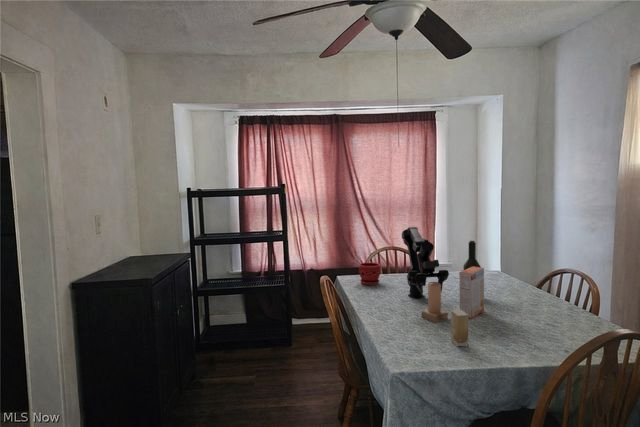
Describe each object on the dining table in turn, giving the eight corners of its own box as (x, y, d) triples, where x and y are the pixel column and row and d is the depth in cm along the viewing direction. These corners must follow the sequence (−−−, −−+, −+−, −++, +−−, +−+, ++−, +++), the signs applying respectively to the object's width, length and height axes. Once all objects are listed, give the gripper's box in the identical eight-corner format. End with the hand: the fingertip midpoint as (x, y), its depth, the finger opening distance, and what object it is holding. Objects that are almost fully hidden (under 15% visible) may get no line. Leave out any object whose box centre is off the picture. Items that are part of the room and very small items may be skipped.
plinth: (433, 313, 177) (433, 307, 176) (447, 318, 170) (447, 312, 169) (421, 317, 172) (421, 310, 172) (435, 322, 166) (435, 315, 165)
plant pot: (382, 285, 226) (382, 266, 225) (360, 286, 227) (359, 266, 226) (379, 280, 239) (378, 261, 238) (358, 280, 240) (358, 262, 239)
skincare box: (450, 340, 147) (450, 309, 146) (461, 339, 147) (461, 309, 146) (457, 347, 140) (457, 315, 140) (468, 346, 141) (469, 314, 140)
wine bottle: (480, 295, 202) (481, 240, 199) (480, 300, 194) (480, 242, 192) (464, 294, 205) (464, 239, 203) (462, 298, 198) (462, 241, 195)
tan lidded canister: (430, 308, 175) (430, 281, 174) (442, 310, 171) (442, 282, 170) (426, 312, 170) (426, 283, 169) (438, 314, 167) (438, 285, 166)
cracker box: (472, 308, 182) (472, 265, 180) (484, 311, 178) (485, 267, 176) (458, 316, 172) (458, 271, 171) (471, 319, 168) (472, 273, 166)
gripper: (408, 254, 179) (414, 283, 169) (447, 253, 179) (455, 282, 169) (404, 266, 188) (409, 295, 178) (442, 265, 187) (449, 294, 177)
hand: (431, 291), depth 175 cm, fingers open, 9 cm apart
